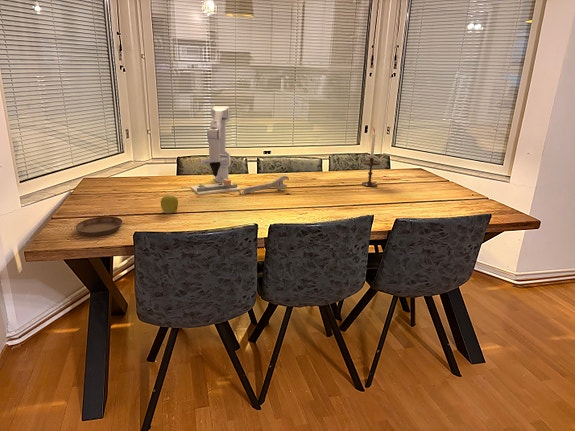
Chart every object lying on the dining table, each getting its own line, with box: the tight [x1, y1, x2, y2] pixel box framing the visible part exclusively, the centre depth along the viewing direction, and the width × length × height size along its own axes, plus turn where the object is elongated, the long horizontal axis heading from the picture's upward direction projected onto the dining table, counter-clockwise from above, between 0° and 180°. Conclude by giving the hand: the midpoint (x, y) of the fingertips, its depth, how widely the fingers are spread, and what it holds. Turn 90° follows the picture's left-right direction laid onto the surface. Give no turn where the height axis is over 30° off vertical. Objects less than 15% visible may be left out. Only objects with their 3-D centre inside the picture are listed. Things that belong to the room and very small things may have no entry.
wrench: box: [238, 175, 290, 195], centre depth 226 cm, size 8×2×30 cm
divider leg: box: [221, 177, 232, 186], centre depth 230 cm, size 12×3×4 cm, turn 28°
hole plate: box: [189, 182, 241, 196], centre depth 228 cm, size 16×24×1 cm, turn 118°
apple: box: [160, 194, 179, 214], centre depth 188 cm, size 8×8×10 cm
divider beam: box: [197, 183, 238, 192], centre depth 228 cm, size 10×23×2 cm, turn 118°
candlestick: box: [361, 126, 382, 188], centre depth 239 cm, size 11×11×35 cm
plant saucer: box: [75, 215, 124, 237], centre depth 165 cm, size 18×18×3 cm
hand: (215, 175), depth 222 cm, fingers closed
